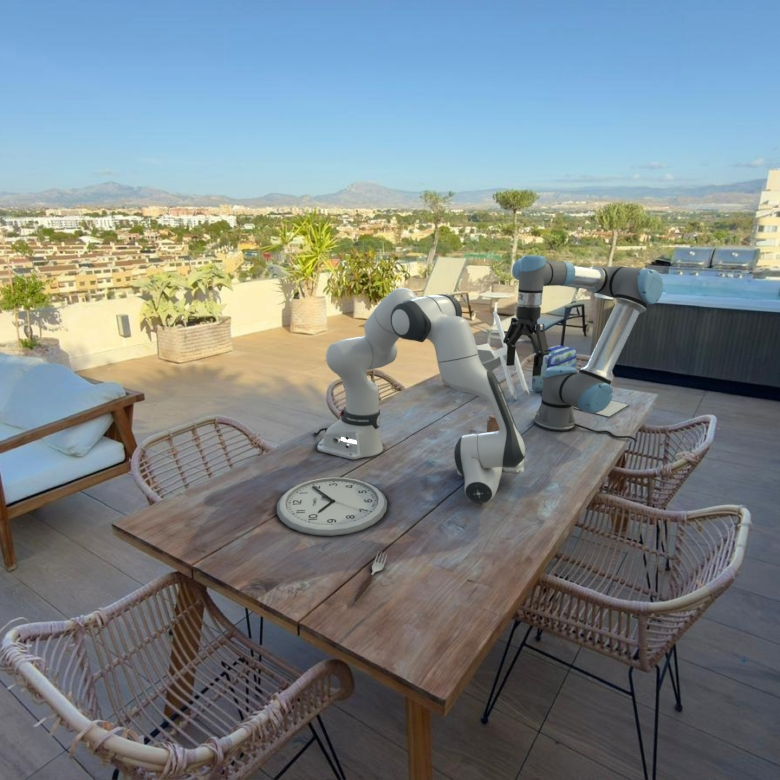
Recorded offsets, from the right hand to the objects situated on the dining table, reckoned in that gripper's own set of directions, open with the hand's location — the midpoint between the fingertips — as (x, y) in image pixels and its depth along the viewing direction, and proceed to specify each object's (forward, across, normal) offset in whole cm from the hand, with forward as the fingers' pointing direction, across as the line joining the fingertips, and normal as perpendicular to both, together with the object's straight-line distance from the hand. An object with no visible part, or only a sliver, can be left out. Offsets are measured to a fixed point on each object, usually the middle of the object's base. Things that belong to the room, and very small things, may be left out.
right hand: (522, 370), depth 172 cm
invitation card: (+29, -23, +63) cm, 73 cm away
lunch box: (+29, -50, +60) cm, 83 cm away
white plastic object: (+29, -60, +25) cm, 71 cm away
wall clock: (+28, +12, -70) cm, 76 cm away
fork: (+28, +45, -73) cm, 90 cm away
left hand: (+22, +10, -17) cm, 29 cm away
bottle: (+28, +9, -16) cm, 34 cm away
